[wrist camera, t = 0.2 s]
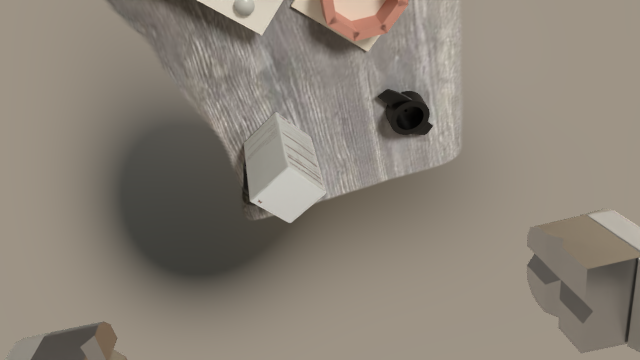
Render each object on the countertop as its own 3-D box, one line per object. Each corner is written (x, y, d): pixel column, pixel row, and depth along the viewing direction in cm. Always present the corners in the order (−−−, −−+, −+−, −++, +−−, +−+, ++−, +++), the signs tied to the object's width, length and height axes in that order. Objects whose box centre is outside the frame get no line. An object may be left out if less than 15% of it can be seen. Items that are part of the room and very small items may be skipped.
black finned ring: (382, 139, 74) (388, 151, 72) (374, 86, 68) (380, 97, 65) (430, 126, 74) (437, 137, 72) (427, 71, 67) (434, 81, 65)
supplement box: (278, 166, 74) (289, 225, 65) (242, 142, 70) (247, 202, 60) (312, 136, 71) (328, 193, 62) (276, 109, 67) (287, 166, 58)
